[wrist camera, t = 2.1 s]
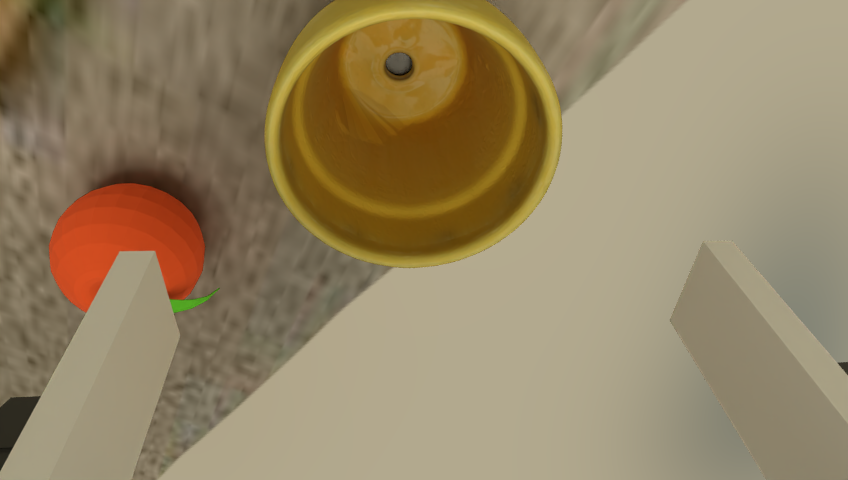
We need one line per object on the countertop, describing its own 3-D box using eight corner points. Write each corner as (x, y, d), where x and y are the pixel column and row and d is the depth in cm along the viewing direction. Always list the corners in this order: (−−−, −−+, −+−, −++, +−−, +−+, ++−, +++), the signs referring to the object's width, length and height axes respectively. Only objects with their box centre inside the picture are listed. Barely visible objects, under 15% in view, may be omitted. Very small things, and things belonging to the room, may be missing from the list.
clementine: (249, 187, 31) (225, 272, 25) (221, 279, 35) (194, 371, 29) (88, 139, 29) (21, 221, 23) (76, 243, 32) (15, 336, 27)
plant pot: (340, 178, 31) (334, 301, 23) (251, -14, 25) (203, 66, 17) (525, 120, 30) (583, 228, 22) (479, -96, 24) (537, -51, 16)
